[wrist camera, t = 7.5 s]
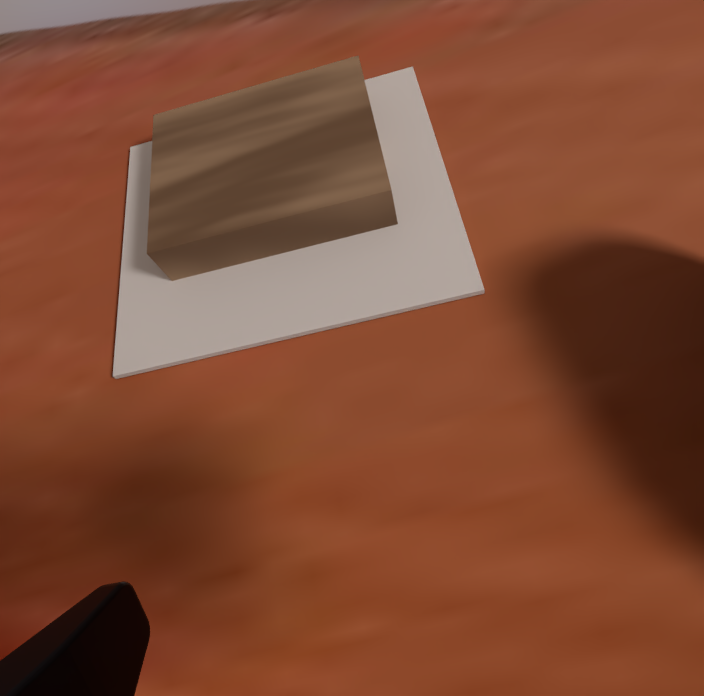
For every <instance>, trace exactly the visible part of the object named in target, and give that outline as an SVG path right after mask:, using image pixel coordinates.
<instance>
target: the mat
mask: <svg viewBox="0 0 704 696" xmlns="http://www.w3.org/2000/svg"><path fill="white" fill-rule="evenodd" d="M365 85H366V89H367V93H368V97H369V101H370V105H371V109H372V113H373V117H374V121H375V125H376V129H377V133H378V137H379V141H380V145H381V149H382V153H383V157H384V162H385V166H386V170H387V174H388V178H389V182H390V186H391V190H392V195H393V200H394V206H395V211H396V216H397V222H398V224H397V225H393V226H389V227H385V228H381V229H377V230H373V231H369V232H365V233H361V234H357V235H353V236H349V237H345V238H341V239H337V240H333V241H329V242H325V243H321V244H317V245H313V246H309V247H305V248H301V249H297V250H293V251H289V252H286V253H282V254H278V255H274V256H270V257H266V258H262V259H258V260H254V261H250V262H246V263H242V264H238V265H234V266H230V267H226V268H222V269H218V270H214V271H210V272H206V273H202V274H198V275H194V276H190V277H186V278H182V279H178V280H174V281H171V280H170V279H169V277H168V276H167V275H166V274H165V273H164V272H163V271H162V270H161V269H160V268H159V267H158V265H157V264H156V263H155V262H154V261H153V260H152V259H151V258H150V257H149V256H148V255H147V237H148V217H149V197H150V177H151V157H152V141H150V142H146V143H143V144H139V145H136V146H132V147H130V160H129V172H128V185H127V198H126V211H125V224H124V237H123V249H122V262H121V275H120V288H119V301H118V314H117V327H116V339H115V352H114V365H113V377H114V378H116V379H118V378H122V377H126V376H131V375H135V374H139V373H144V372H148V371H152V370H157V369H161V368H165V367H169V366H174V365H178V364H182V363H187V362H191V361H195V360H200V359H204V358H208V357H212V356H217V355H221V354H225V353H230V352H234V351H238V350H243V349H247V348H251V347H256V346H260V345H264V344H268V343H273V342H277V341H281V340H286V339H290V338H294V337H299V336H303V335H307V334H311V333H316V332H320V331H324V330H329V329H333V328H337V327H342V326H346V325H350V324H355V323H359V322H363V321H367V320H372V319H376V318H380V317H385V316H389V315H393V314H398V313H402V312H406V311H410V310H415V309H419V308H423V307H428V306H432V305H436V304H441V303H445V302H449V301H453V300H458V299H462V298H466V297H471V296H475V295H479V294H484V287H483V284H482V281H481V278H480V275H479V271H478V268H477V265H476V262H475V259H474V256H473V253H472V250H471V247H470V243H469V240H468V237H467V234H466V231H465V228H464V225H463V222H462V219H461V215H460V212H459V209H458V206H457V203H456V200H455V197H454V194H453V191H452V187H451V184H450V181H449V178H448V175H447V172H446V169H445V166H444V163H443V159H442V156H441V153H440V150H439V147H438V144H437V141H436V138H435V135H434V131H433V128H432V125H431V122H430V119H429V116H428V113H427V110H426V107H425V103H424V100H423V97H422V94H421V91H420V88H419V85H418V82H417V79H416V75H415V72H414V69H413V67H409V68H406V69H402V70H399V71H395V72H392V73H388V74H385V75H381V76H378V77H374V78H371V79H367V80H365Z"/></svg>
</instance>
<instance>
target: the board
mask: <svg viewBox="0 0 704 696" xmlns="http://www.w3.org/2000/svg"><path fill="white" fill-rule="evenodd" d="M397 224H398V222H397V216H396V211H395V206H394V200H393V195H392V190H391V186H390V182H389V178H388V174H387V170H386V166H385V162H384V157H383V153H382V149H381V145H380V141H379V137H378V133H377V129H376V125H375V121H374V117H373V113H372V109H371V105H370V101H369V97H368V93H367V89H366V85H365V80H364V76H363V72H362V68H361V64H360V60H359V56H355V57H351V58H348V59H345V60H341V61H338V62H334V63H331V64H327V65H324V66H321V67H317V68H314V69H310V70H307V71H303V72H300V73H297V74H293V75H290V76H286V77H283V78H279V79H276V80H272V81H269V82H266V83H262V84H259V85H255V86H252V87H248V88H245V89H242V90H238V91H235V92H231V93H228V94H224V95H221V96H217V97H214V98H211V99H207V100H204V101H200V102H197V103H193V104H190V105H187V106H183V107H180V108H176V109H173V110H169V111H166V112H163V113H159V114H156V115H154V117H153V137H152V157H151V177H150V197H149V217H148V237H147V255H148V256H149V257H150V258H151V259H152V260H153V261H154V262H155V263H156V264H157V265H158V267H159V268H160V269H161V270H162V271H163V272H164V273H165V274H166V275H167V276H168V277H169V279H170V280H171V281H174V280H178V279H182V278H186V277H190V276H194V275H198V274H202V273H206V272H210V271H214V270H218V269H222V268H226V267H230V266H234V265H238V264H242V263H246V262H250V261H254V260H258V259H262V258H266V257H270V256H274V255H278V254H282V253H286V252H289V251H293V250H297V249H301V248H305V247H309V246H313V245H317V244H321V243H325V242H329V241H333V240H337V239H341V238H345V237H349V236H353V235H357V234H361V233H365V232H369V231H373V230H377V229H381V228H385V227H389V226H393V225H397Z"/></svg>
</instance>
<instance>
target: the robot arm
mask: <svg viewBox="0 0 704 696" xmlns="http://www.w3.org/2000/svg"><path fill="white" fill-rule="evenodd" d="M149 637H150V626H149V621H148V619H147V616H146V614H145V612H144V610H143V608H142V605H141V603H140V601H139V599H138V597H137V595H136V592H135V590H134V588H133V586H132V585H131V584H129V583H128V582H118V583H112V584H107V585H103V586H101V587H99V588H97V589H96V590H95V591H93V592H92V593H91V594H89V595H88V596H87V597H85V598H84V599H83V600H81V601H80V602H78V603H77V604H76V605H74V606H73V607H72V608H70V609H69V610H68V611H66V612H65V613H64V614H62V615H61V616H60V617H58V618H57V619H56V620H54V621H53V622H52V623H50V624H49V625H48V626H46V627H45V628H44V629H42V630H41V631H40V632H38V633H37V634H36V635H34V636H33V637H32V638H30V639H29V640H28V641H26V642H25V643H24V644H22V645H21V646H20V647H18V648H17V649H15V650H14V651H13V652H11V653H10V654H9V655H7V656H6V657H5V658H3V659H2V660H1V661H0V696H134V695H135V691H136V687H137V683H138V680H139V676H140V672H141V668H142V665H143V661H144V657H145V653H146V650H147V646H148V642H149Z"/></svg>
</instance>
